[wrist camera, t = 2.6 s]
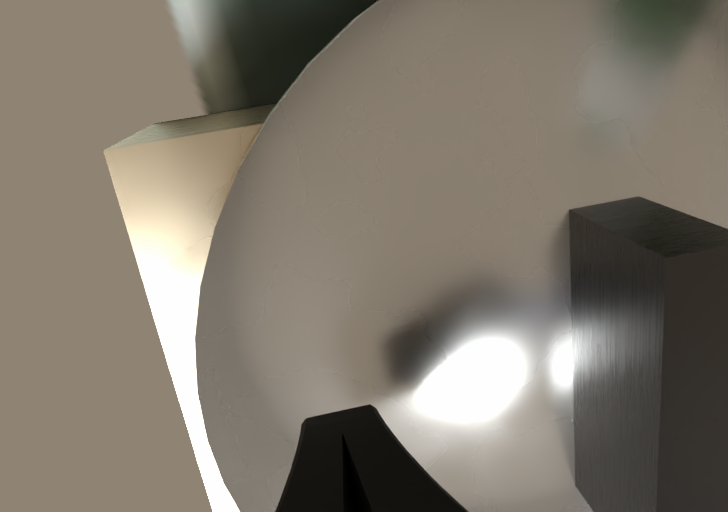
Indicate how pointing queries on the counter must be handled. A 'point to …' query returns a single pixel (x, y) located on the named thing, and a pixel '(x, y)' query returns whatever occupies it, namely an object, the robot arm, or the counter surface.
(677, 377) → the cooker lid
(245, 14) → the counter surface
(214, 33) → the counter surface
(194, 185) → the cooker pot
